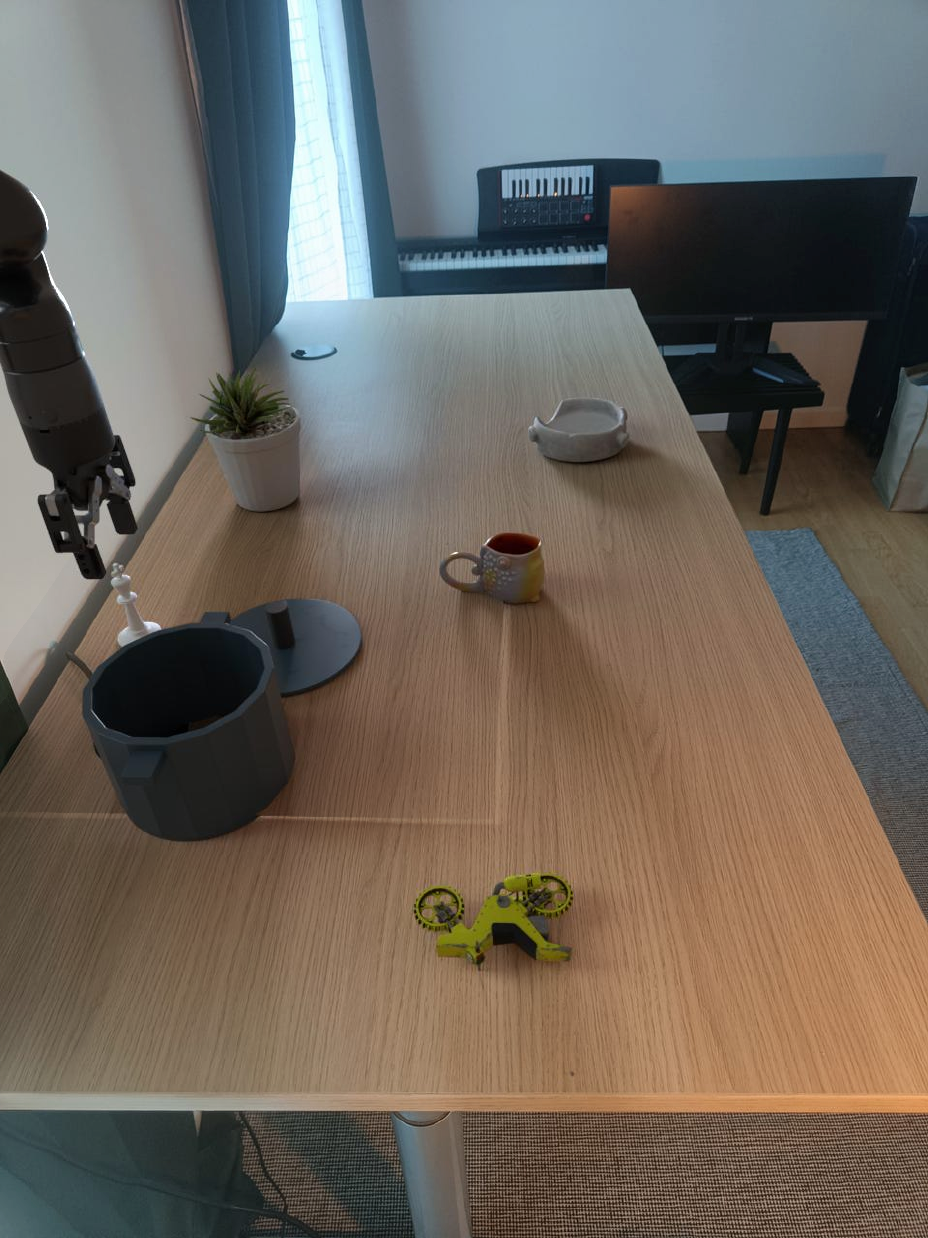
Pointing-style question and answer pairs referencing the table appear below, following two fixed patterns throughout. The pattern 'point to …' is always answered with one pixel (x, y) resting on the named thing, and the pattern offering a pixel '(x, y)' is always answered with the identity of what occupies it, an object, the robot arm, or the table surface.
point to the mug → (503, 568)
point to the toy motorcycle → (499, 919)
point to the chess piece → (130, 609)
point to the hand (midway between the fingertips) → (112, 554)
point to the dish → (582, 430)
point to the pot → (198, 760)
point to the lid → (304, 640)
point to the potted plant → (255, 444)
